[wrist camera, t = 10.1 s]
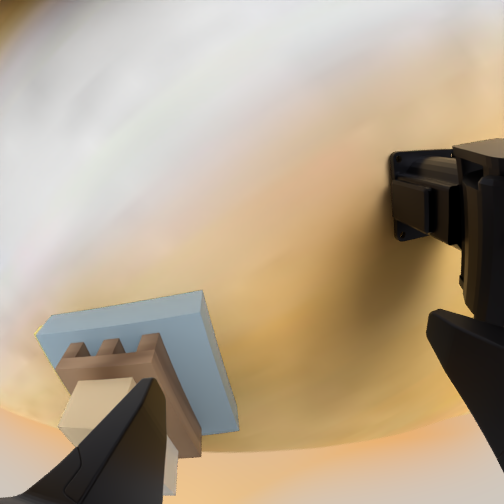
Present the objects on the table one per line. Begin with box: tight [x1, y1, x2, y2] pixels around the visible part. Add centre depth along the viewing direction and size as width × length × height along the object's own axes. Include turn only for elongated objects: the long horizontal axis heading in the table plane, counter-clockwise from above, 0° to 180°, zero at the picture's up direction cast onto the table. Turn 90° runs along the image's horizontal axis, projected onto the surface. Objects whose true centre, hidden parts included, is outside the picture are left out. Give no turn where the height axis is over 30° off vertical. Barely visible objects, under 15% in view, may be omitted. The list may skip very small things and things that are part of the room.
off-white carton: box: [163, 435, 178, 495], centre depth 15 cm, size 4×4×4 cm
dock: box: [34, 290, 239, 435], centre depth 21 cm, size 13×12×3 cm
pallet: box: [55, 333, 202, 458], centre depth 18 cm, size 7×10×3 cm
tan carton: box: [57, 377, 136, 447], centre depth 14 cm, size 4×4×4 cm
